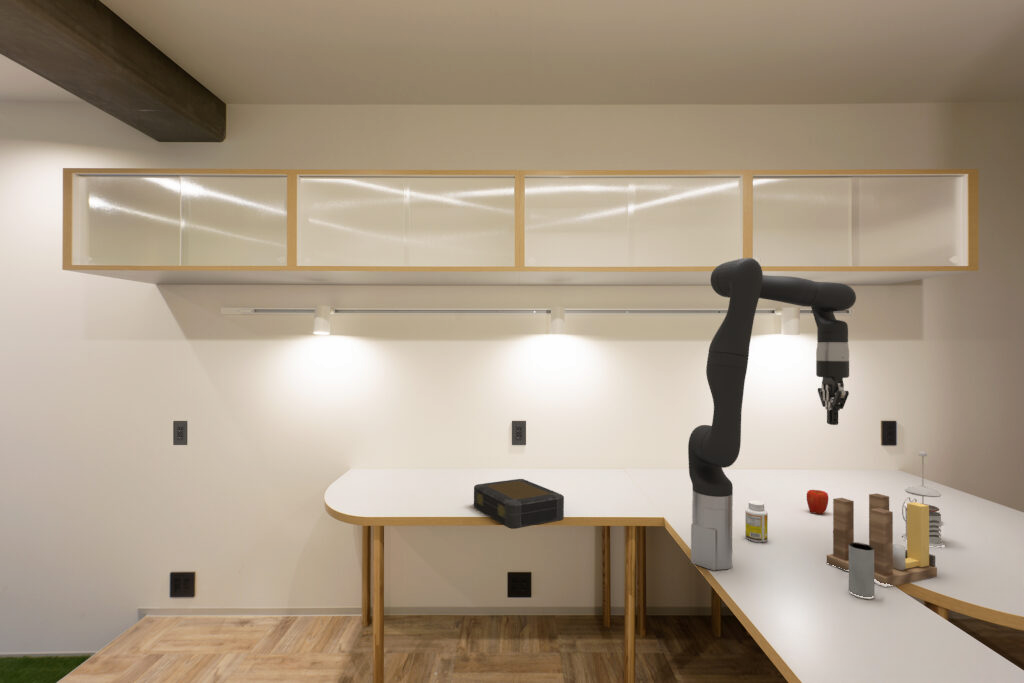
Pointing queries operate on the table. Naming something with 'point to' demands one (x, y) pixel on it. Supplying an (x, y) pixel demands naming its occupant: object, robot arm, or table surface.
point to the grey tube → (861, 569)
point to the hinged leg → (914, 539)
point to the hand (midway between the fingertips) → (832, 424)
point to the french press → (933, 515)
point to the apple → (817, 501)
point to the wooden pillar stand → (873, 541)
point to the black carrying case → (518, 503)
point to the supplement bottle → (756, 522)
